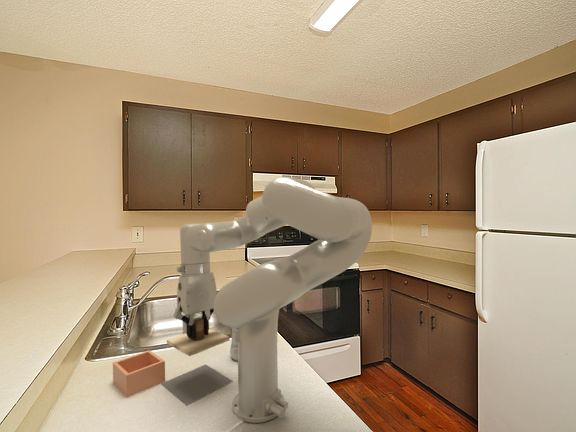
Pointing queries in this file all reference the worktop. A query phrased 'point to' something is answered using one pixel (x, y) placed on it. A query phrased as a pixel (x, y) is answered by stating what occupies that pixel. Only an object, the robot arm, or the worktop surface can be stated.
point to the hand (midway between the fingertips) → (198, 335)
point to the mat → (196, 384)
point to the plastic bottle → (234, 344)
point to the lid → (198, 340)
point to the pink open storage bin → (138, 372)
